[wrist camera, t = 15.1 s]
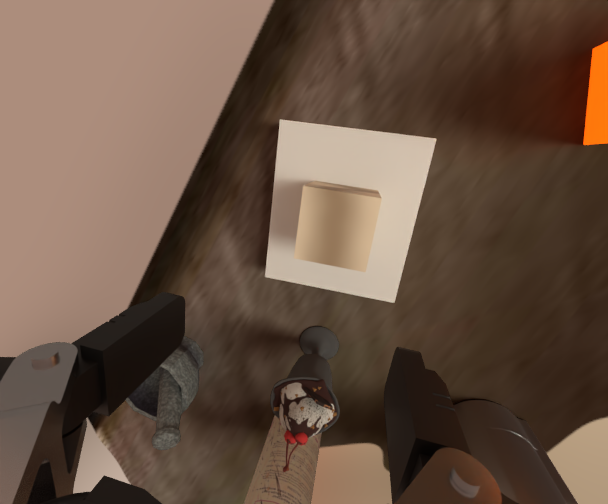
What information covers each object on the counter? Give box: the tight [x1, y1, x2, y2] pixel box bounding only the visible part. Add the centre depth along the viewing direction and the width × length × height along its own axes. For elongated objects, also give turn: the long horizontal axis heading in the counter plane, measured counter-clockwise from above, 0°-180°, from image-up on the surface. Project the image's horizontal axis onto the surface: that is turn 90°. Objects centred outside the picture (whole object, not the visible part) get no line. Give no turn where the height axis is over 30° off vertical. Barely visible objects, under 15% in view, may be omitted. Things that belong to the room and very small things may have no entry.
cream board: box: [265, 120, 436, 303], centre depth 30 cm, size 14×16×3 cm
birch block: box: [294, 181, 382, 272], centre depth 26 cm, size 6×6×6 cm
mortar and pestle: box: [126, 336, 203, 450], centre depth 36 cm, size 11×9×12 cm
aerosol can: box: [244, 415, 322, 504], centre depth 32 cm, size 7×7×20 cm
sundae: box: [270, 326, 340, 472], centre depth 30 cm, size 7×7×15 cm
